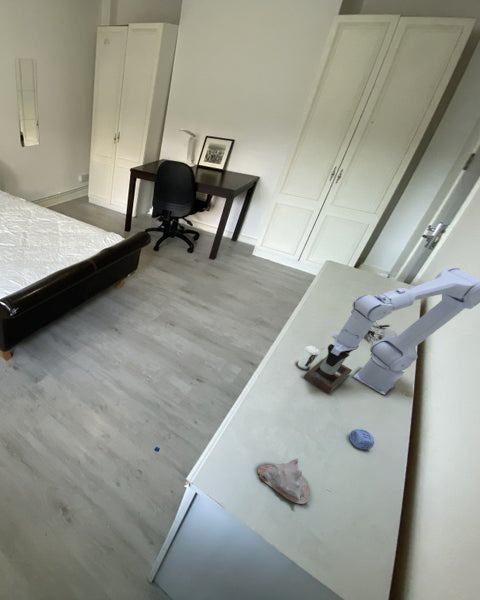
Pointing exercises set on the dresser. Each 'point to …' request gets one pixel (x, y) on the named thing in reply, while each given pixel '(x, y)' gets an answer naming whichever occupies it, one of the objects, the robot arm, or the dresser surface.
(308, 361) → the milkshake
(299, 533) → the dresser surface
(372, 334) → the clip-on lamp
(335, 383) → the holder
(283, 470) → the seashell
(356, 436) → the decorative dice
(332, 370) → the grey hollow cylinder
